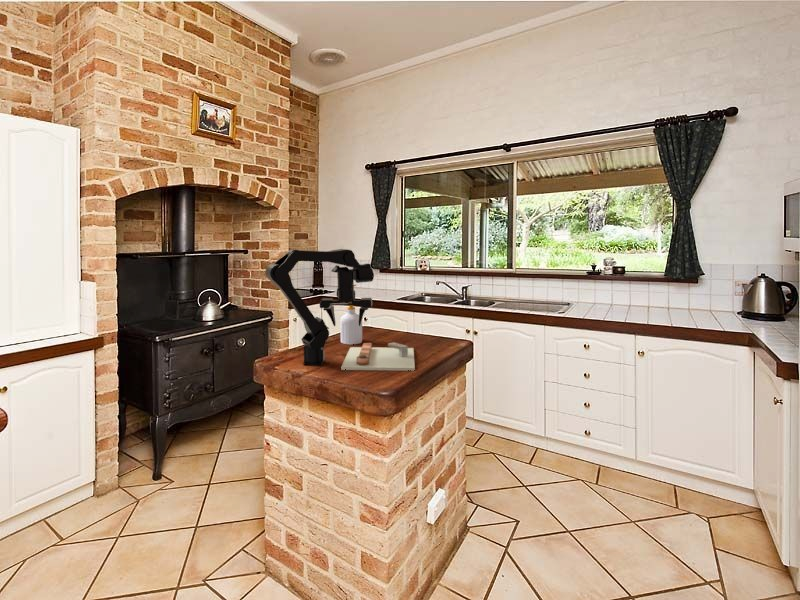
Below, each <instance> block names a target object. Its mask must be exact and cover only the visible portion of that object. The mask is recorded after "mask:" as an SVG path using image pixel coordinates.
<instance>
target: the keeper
mask: <svg viewBox="0 0 800 600" xmlns="http://www.w3.org/2000/svg"><path fill="white" fill-rule="evenodd" d="M387 347H388V348H396V349H399V357H406V356H408V348H409V346H408V345H406V344H402V343H398V342H395V341H393V342H389V343H387Z"/></svg>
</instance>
